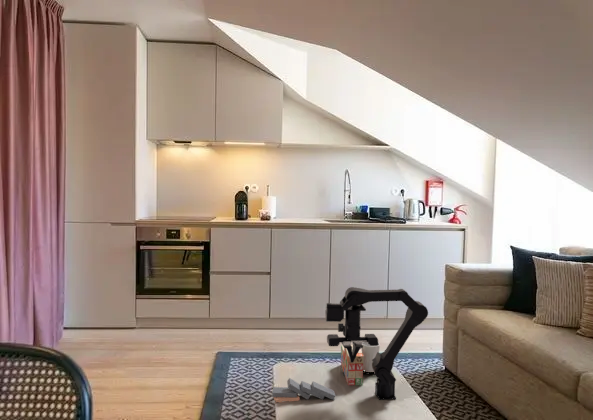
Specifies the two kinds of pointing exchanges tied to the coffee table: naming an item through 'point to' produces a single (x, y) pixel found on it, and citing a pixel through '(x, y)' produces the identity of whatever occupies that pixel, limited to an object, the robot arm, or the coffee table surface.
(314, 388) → the domino
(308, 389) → the domino
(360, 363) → the stack of blocks
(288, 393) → the domino
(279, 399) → the domino
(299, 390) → the domino
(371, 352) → the cup
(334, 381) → the coffee table surface
